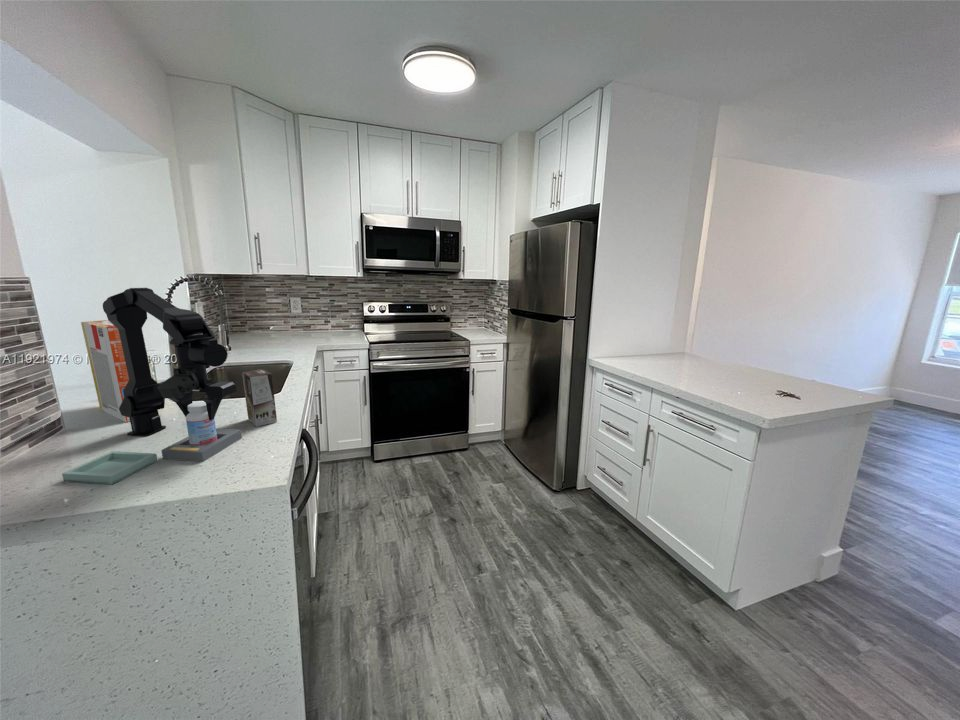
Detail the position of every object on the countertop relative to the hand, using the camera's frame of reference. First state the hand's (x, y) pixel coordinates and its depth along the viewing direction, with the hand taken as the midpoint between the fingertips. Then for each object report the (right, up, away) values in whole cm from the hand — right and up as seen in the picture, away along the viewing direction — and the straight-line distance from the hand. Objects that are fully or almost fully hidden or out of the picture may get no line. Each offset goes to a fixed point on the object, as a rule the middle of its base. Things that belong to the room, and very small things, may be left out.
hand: (200, 419), depth 101 cm
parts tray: (-13, -11, -10) cm, 20 cm away
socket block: (0, -8, +2) cm, 8 cm away
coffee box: (+4, -4, +21) cm, 22 cm away
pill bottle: (0, -7, +2) cm, 7 cm away
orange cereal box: (-44, -2, +27) cm, 52 cm away
